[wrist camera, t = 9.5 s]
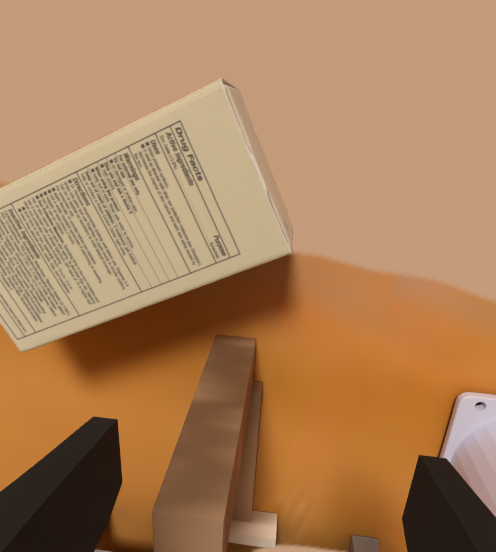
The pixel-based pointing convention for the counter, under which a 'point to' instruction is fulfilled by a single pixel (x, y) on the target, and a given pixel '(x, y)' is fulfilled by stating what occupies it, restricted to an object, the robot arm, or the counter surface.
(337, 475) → the counter surface
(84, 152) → the skincare box
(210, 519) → the brown piece
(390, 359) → the counter surface
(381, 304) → the counter surface
